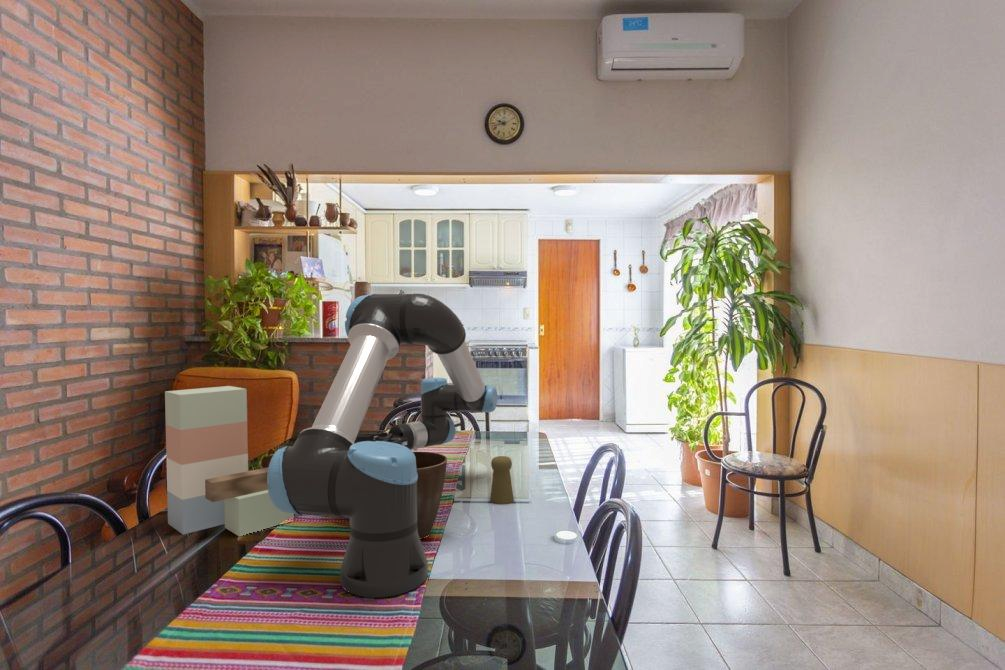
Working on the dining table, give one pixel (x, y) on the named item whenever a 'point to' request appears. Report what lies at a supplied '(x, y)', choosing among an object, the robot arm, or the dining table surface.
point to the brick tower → (202, 451)
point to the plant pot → (429, 489)
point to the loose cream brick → (252, 513)
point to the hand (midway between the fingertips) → (338, 449)
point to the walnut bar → (236, 485)
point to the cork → (501, 481)
